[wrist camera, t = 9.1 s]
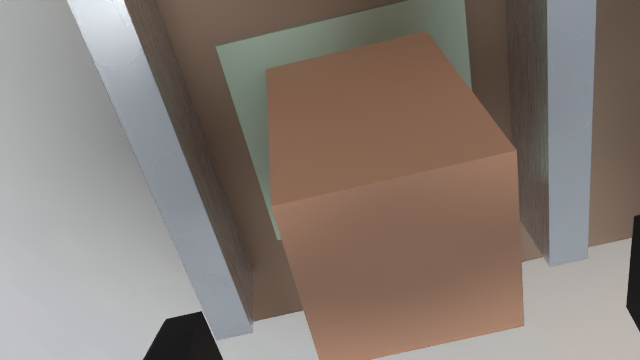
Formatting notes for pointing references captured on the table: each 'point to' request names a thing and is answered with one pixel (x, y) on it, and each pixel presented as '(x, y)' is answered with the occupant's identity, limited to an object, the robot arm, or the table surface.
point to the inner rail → (552, 120)
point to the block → (393, 200)
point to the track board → (363, 29)
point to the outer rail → (171, 153)
